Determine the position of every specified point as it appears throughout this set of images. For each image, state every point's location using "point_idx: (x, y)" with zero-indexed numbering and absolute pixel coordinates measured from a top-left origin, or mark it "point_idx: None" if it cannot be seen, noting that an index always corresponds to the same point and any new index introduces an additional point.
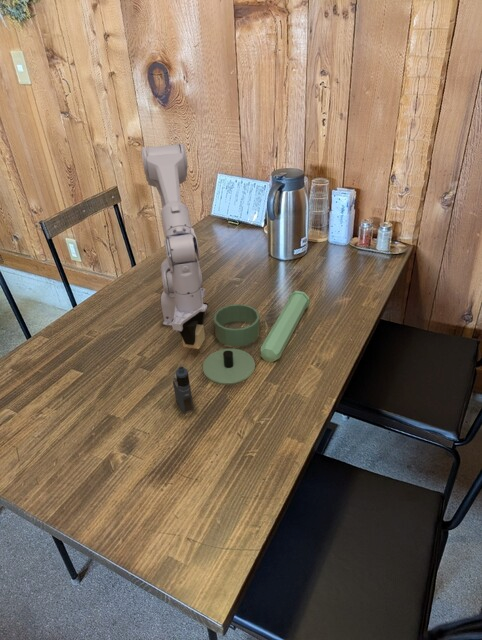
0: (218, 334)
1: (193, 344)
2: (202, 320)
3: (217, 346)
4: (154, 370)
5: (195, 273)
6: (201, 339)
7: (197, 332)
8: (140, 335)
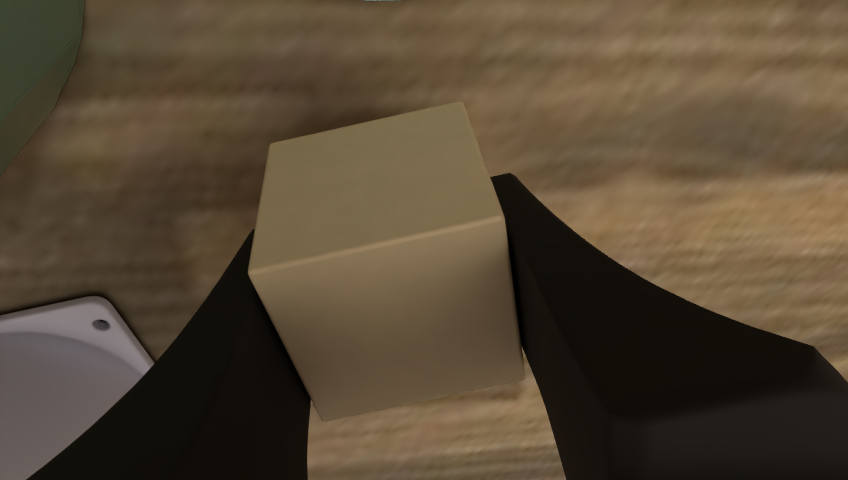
0: (44, 79)
1: (511, 176)
2: (223, 342)
3: (137, 20)
4: (620, 260)
5: None
6: (371, 154)
7: (446, 248)
8: (366, 468)
